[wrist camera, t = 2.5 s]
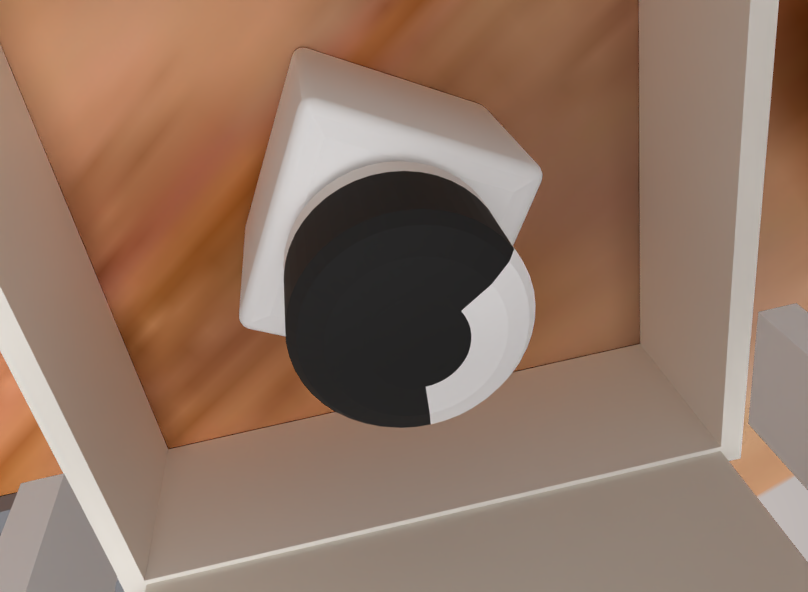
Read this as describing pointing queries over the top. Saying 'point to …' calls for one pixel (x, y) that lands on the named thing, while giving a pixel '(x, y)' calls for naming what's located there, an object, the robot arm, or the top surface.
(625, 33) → the top surface
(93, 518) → the carton
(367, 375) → the medicine bottle
